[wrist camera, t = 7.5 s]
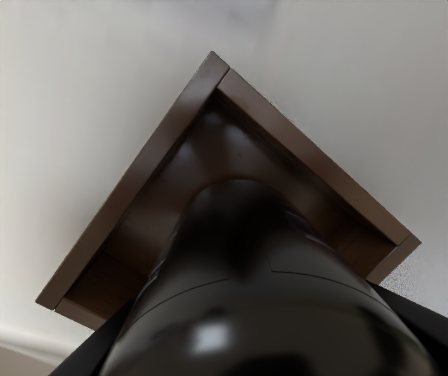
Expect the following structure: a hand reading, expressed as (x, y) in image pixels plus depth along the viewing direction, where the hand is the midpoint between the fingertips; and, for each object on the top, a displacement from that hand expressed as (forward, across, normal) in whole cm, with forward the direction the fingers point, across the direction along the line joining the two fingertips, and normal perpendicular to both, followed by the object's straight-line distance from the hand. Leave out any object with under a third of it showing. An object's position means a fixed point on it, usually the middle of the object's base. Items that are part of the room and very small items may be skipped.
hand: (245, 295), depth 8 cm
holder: (+6, 0, 0) cm, 6 cm away
